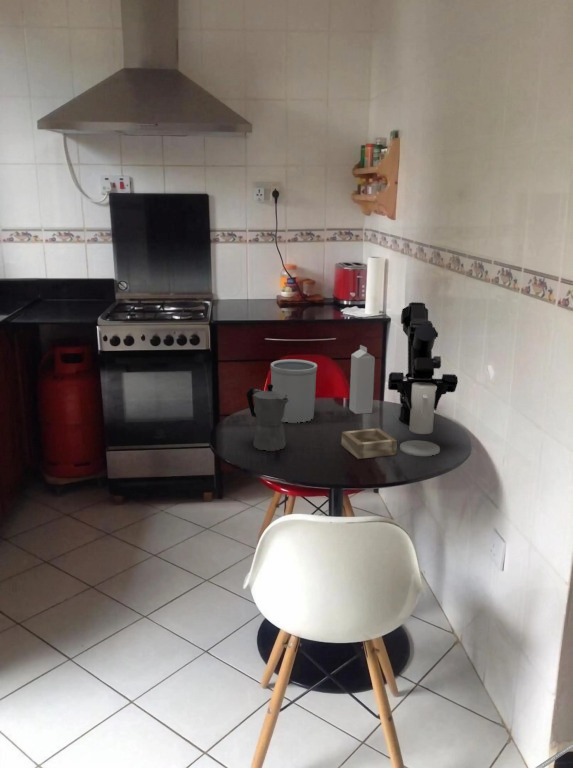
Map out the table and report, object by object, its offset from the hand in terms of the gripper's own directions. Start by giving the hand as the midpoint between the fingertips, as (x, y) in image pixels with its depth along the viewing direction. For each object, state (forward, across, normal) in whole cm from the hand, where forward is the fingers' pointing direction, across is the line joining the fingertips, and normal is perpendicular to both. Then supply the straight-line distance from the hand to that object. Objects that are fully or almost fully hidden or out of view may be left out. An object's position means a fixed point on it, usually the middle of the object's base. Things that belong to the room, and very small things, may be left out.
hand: (422, 408), depth 184 cm
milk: (-17, -16, +35) cm, 42 cm away
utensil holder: (-10, -38, +28) cm, 48 cm away
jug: (+5, 0, +5) cm, 7 cm away
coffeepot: (+10, -43, +8) cm, 45 cm away
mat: (+8, 0, +10) cm, 12 cm away
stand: (+9, -14, +8) cm, 19 cm away
